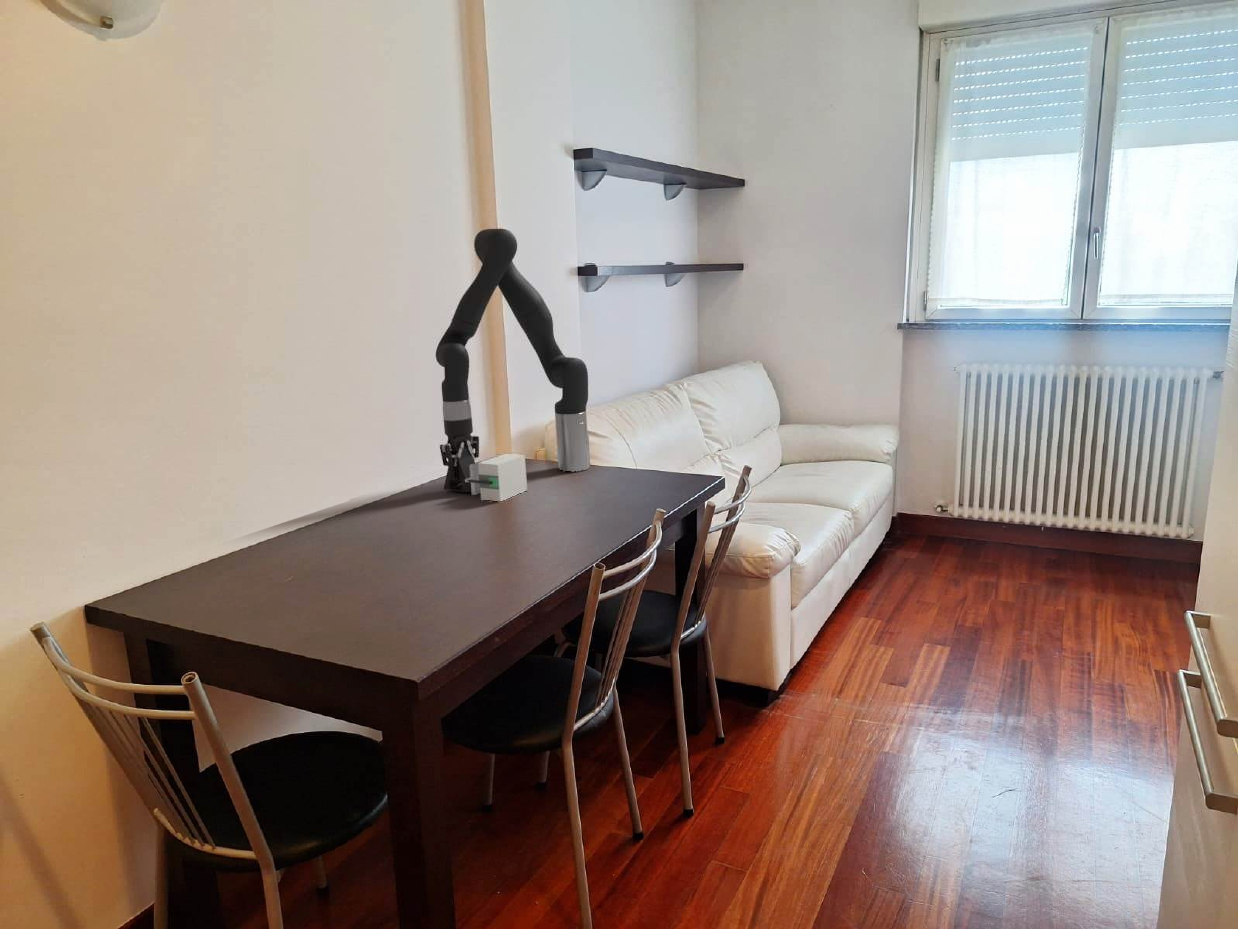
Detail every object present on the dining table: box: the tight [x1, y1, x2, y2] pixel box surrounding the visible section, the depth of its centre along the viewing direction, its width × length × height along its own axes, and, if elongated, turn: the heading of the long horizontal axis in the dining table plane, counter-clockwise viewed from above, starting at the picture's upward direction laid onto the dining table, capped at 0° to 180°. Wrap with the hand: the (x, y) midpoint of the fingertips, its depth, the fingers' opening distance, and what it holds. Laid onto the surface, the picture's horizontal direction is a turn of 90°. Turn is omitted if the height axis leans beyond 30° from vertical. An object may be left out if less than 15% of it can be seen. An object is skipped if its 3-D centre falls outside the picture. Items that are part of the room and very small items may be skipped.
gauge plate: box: [465, 456, 496, 496], centre depth 224 cm, size 12×8×8 cm
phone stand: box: [443, 447, 476, 493], centre depth 230 cm, size 9×6×12 cm, turn 62°
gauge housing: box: [478, 453, 528, 502], centre depth 223 cm, size 12×6×10 cm, turn 151°
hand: (463, 477), depth 230 cm, fingers closed on phone stand, 6 cm apart
